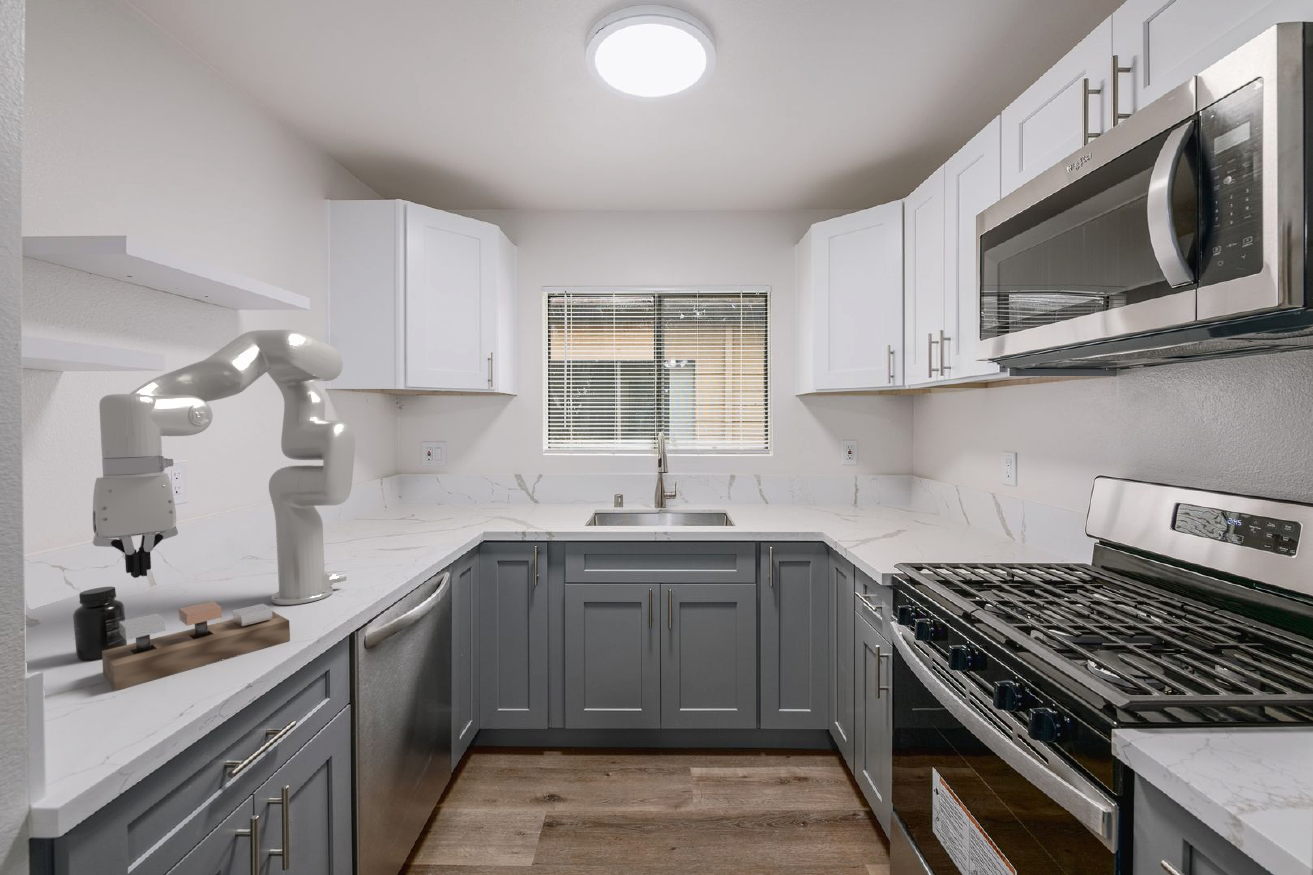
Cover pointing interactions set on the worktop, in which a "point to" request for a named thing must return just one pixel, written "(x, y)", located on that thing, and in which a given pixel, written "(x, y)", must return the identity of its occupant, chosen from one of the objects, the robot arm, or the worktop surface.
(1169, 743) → the worktop surface
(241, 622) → the button
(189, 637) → the button panel
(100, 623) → the supplement bottle
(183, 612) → the middle button
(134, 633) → the button
